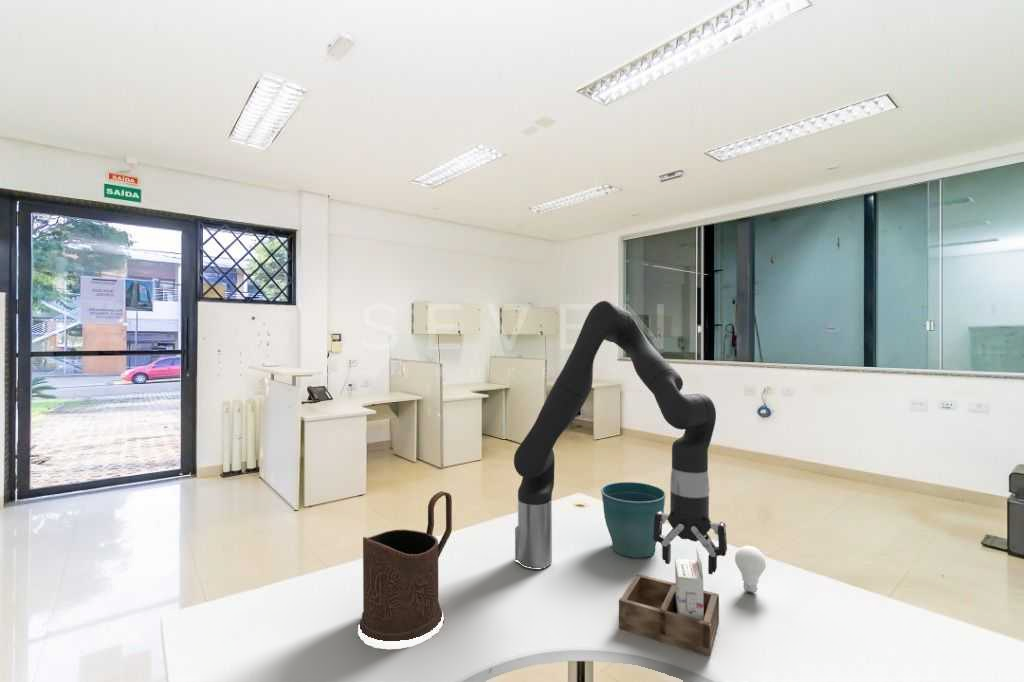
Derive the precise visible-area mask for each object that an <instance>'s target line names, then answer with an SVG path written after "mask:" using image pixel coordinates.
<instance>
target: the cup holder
mask: <svg viewBox="0 0 1024 682" xmlns="http://www.w3.org/2000/svg"><path fill="white" fill-rule="evenodd" d="M444 496H445V531H444V532H443V535H442V537H441V539H440V541H438V538H437V537H435V536H434V535H433V534H434V527H435V516H434V515H435V506H436V504H437V502H438V500H439V499H441V498H442V497H444ZM452 500H453V498H452V495H451V493H449V492H446V491H439V492H437V493H435V494H434V495H433V496H432V497H431V498H430V500H429V502H428V506H427V527H426V532H423V531H418V530H414V529H413V530H411V529H392V530H387V531H383V532H381V533H378V534H375V535H372V536H368V537H367V536H363V537H362V571H363V572H362V574H363V576H362V578H363V579H362V581H363V582H362V583H363V584H362V587H363V590H362V595H363V596H362V598H363V600H362V601H363V603H362V605H363V609H362V610H363V611H362V612H361V618H362V619H361V618H360V619H359V620H360V621H359V622H360V629H361V630H362V633H364V634H365V635H367V636H368V637H371V638H374V639H377V640H383V641H400V640H409V639H413V638H416V637H420V636H422V635H424V634H426V633H428V632H430V631H431V630H433V628H435V627H436V626H437V625H438V623H439V622H440V621H441V617H442V611H443V610H442V608H441V605H440V601H439V558H440V556H441V553H442V552H443V550H444V547H445V546H446V544H447V542H448V540H449V538H450V536H451V533H452V530H453V520H452V519H453V518H452V517H453V512H452V511H453V501H452ZM441 610H442V611H441Z"/></svg>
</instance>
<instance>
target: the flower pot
mask: <svg viewBox="0 0 1024 682" xmlns="http://www.w3.org/2000/svg"><path fill="white" fill-rule="evenodd" d="M600 492H601V496H602V497H601V499H602V506H603V515H604V519H605V525H606V528H607V529H608V533H609V536H610V539H611V542H612V549H613V550H614V552H616V553H617V554H619V555H621V556H624V557H629V558H634V559H636V558H637V559H638V558H639V559H641V558H647V557H650V556H651V557H652V555H653V554H655V552H656V547H657V542H656V541H654V539H653V533H654V518H655V514H656V513H657V512H658V511H659V510H660V511H662V512H663V513H664V514H665V501H666V500H665V499H666V496H667V494H666V491H665V490H663V489H662V488H660V487H658V486H655V485H652V484H649V483H643V482H635V481H632V482H631V481H624V482H623V481H621V482H612V483H609V484H606V485H603V486H602V488H601V489H600Z"/></svg>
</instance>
